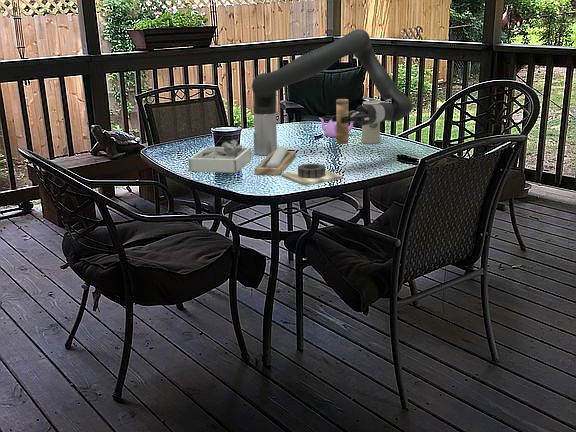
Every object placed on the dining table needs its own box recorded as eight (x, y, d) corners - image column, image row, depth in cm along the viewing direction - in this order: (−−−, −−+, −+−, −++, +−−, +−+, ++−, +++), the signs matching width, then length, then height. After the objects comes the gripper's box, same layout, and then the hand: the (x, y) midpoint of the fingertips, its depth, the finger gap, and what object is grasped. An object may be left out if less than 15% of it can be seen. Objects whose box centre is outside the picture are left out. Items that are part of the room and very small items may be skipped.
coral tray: (189, 171, 254) (188, 158, 252) (207, 158, 274) (206, 146, 273) (236, 172, 250) (236, 159, 249) (251, 159, 271) (250, 147, 269)
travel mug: (361, 140, 301) (361, 101, 295) (378, 140, 300) (379, 100, 295) (362, 144, 293) (362, 103, 288) (380, 144, 293) (381, 103, 287)
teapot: (318, 135, 316) (318, 117, 313) (341, 131, 323) (341, 113, 320) (333, 139, 306) (333, 120, 303) (356, 135, 313) (356, 116, 310)
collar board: (305, 185, 230) (305, 174, 229) (281, 176, 243) (281, 165, 242) (342, 178, 238) (342, 167, 237) (317, 170, 251) (317, 159, 250)
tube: (280, 163, 247) (289, 148, 270) (267, 159, 247) (277, 144, 270) (276, 176, 249) (285, 160, 272) (263, 172, 249) (273, 156, 272)
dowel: (335, 144, 244) (335, 100, 239) (337, 141, 248) (337, 98, 243) (347, 144, 243) (347, 100, 238) (349, 141, 247) (349, 98, 242)
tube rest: (254, 174, 246) (254, 168, 246) (273, 156, 275) (272, 150, 274) (279, 175, 245) (279, 169, 244) (295, 156, 273) (295, 151, 272)
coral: (246, 163, 265) (245, 138, 262) (236, 171, 253) (234, 145, 250) (207, 161, 270) (205, 137, 266) (194, 169, 257) (192, 144, 254)
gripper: (357, 102, 255) (323, 107, 245) (384, 106, 244) (350, 111, 234) (356, 121, 258) (323, 127, 248) (383, 126, 247) (350, 132, 237)
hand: (337, 119), depth 241 cm, fingers closed on dowel, 4 cm apart
